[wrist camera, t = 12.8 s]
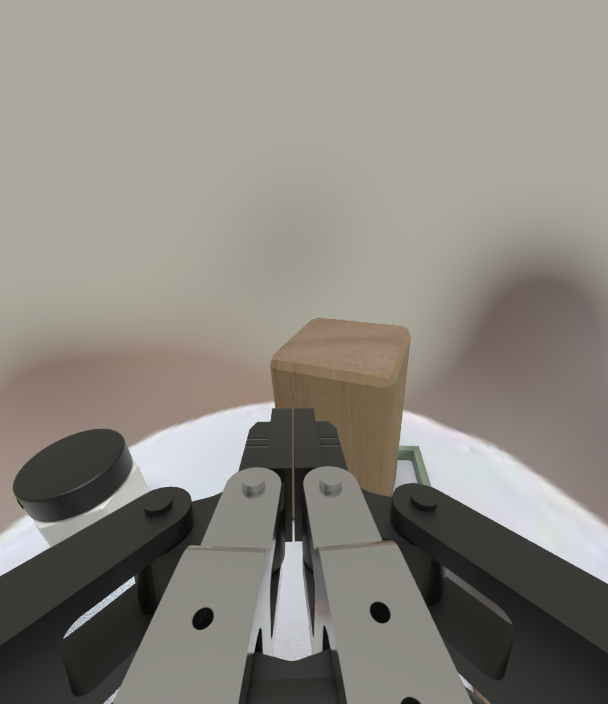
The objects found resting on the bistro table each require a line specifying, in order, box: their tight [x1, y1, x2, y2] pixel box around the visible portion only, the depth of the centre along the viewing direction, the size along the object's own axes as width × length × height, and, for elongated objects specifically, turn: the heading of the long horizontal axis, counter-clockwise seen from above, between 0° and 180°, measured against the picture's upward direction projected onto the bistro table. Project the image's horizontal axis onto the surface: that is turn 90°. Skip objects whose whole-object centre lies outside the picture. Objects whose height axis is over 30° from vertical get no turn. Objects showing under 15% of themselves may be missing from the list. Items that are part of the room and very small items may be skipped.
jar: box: [13, 429, 149, 547], centre depth 29 cm, size 9×8×12 cm
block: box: [270, 318, 410, 519], centre depth 31 cm, size 10×10×20 cm
